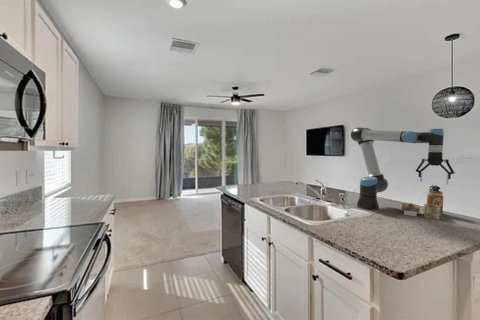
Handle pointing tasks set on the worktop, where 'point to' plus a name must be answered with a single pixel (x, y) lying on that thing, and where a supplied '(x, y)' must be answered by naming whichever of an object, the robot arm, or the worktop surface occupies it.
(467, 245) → the worktop surface
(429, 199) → the canister
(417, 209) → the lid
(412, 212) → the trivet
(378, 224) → the worktop surface
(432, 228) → the worktop surface
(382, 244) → the worktop surface
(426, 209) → the box
